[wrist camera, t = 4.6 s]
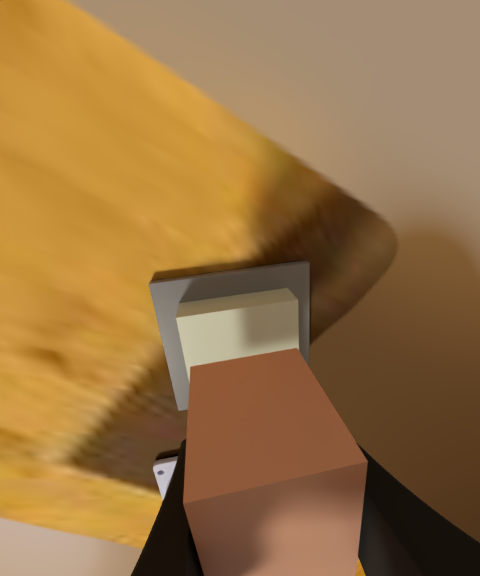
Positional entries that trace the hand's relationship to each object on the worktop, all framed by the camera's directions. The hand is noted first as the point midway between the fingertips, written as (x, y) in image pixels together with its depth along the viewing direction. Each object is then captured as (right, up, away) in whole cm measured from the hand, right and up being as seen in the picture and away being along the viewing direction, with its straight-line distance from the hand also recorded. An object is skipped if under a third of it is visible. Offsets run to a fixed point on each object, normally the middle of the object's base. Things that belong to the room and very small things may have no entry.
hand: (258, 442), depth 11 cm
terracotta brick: (0, +1, +1) cm, 2 cm away
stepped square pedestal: (-1, +3, +8) cm, 8 cm away
